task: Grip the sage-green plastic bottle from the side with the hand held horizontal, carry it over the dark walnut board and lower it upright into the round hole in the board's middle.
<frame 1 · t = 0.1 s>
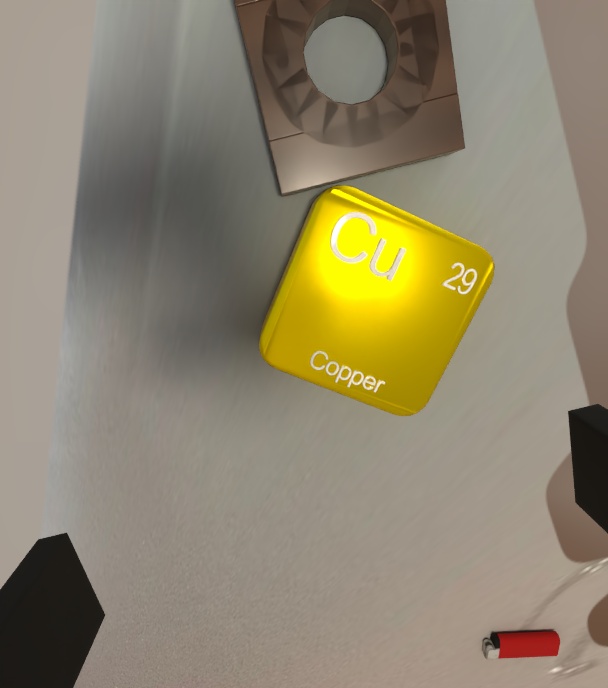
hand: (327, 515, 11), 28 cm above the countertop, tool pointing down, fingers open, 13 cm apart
hole board: (345, 65, 34), on the countertop
element tile: (365, 299, 39), on the countertop
lighter: (516, 638, 50), on the countertop
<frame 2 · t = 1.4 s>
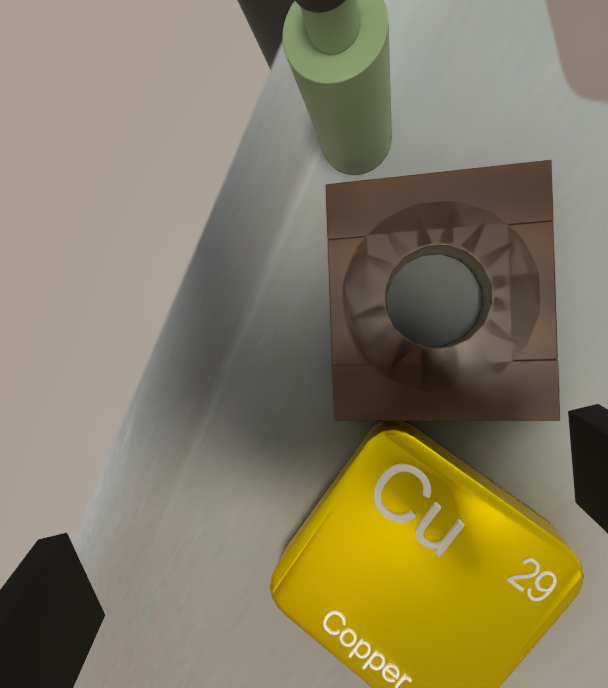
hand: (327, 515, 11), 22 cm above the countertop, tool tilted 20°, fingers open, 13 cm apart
hole board: (433, 300, 32), on the countertop
element tile: (413, 550, 32), on the countertop
bottle: (356, 140, 33), on the countertop
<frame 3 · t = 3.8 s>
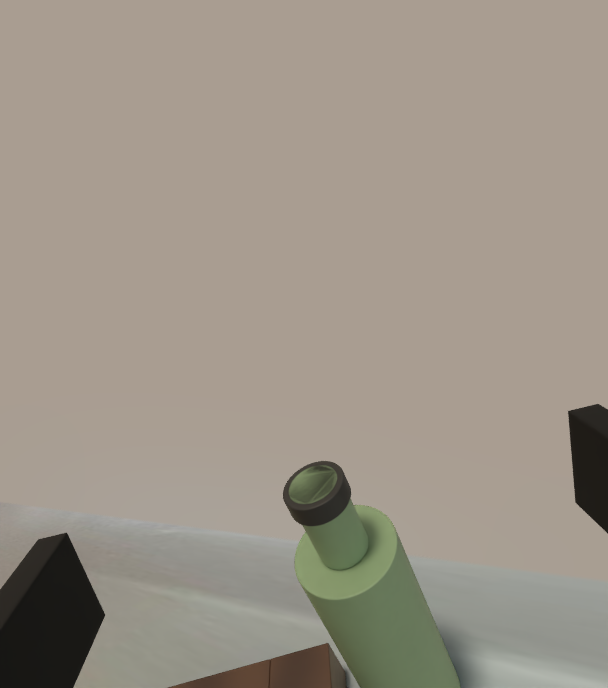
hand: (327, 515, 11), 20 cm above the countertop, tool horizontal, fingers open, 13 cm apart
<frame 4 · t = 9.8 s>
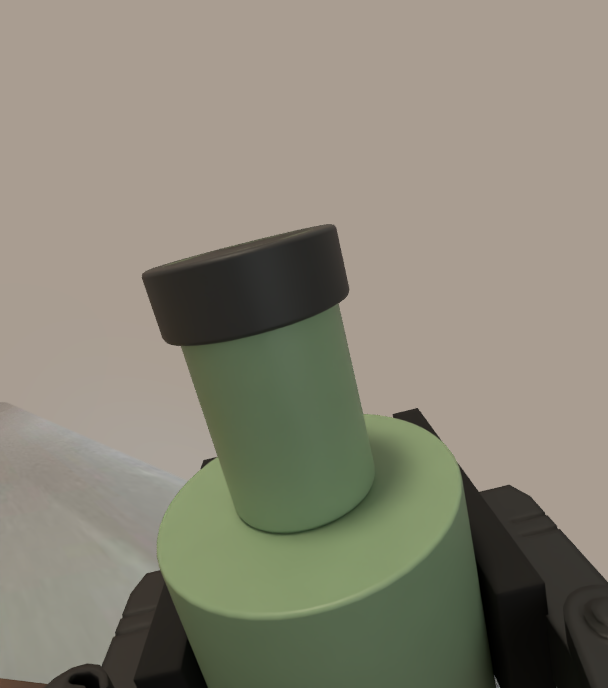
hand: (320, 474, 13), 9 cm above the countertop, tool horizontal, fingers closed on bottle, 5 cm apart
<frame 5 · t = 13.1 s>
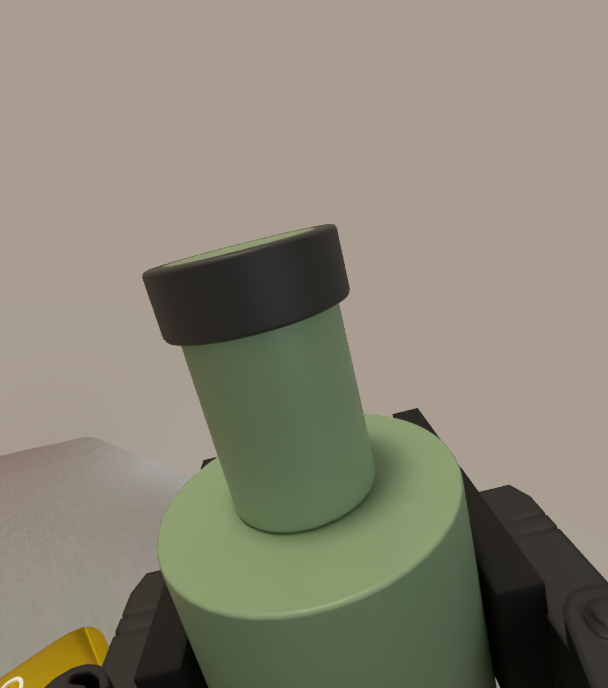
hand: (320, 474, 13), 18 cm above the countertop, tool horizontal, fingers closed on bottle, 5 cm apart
when the fingers open (9 cm above the countertop, at t = 16.2 s): bottle stays where it is, resting in hole board.
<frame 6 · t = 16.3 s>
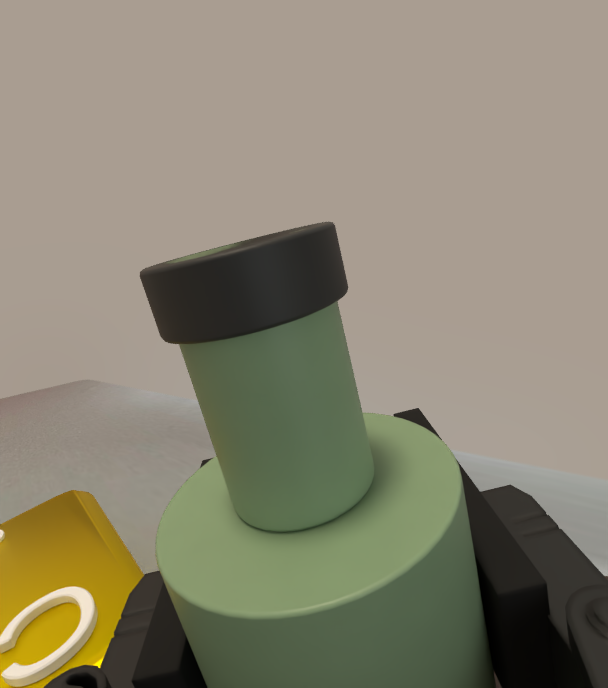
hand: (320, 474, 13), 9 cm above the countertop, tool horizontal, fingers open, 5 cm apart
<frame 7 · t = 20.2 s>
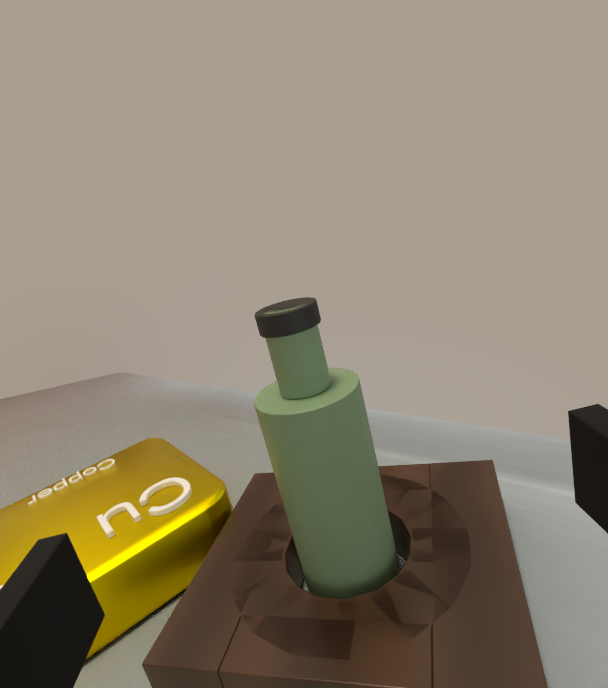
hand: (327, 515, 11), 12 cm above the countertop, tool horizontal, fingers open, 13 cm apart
hole board: (357, 589, 24), on the countertop
element tile: (113, 561, 31), on the countertop
bottle: (357, 590, 24), resting in hole board
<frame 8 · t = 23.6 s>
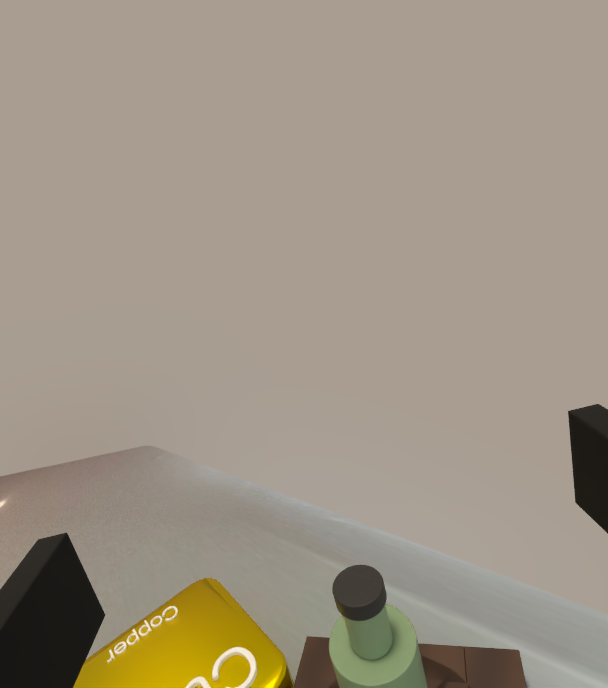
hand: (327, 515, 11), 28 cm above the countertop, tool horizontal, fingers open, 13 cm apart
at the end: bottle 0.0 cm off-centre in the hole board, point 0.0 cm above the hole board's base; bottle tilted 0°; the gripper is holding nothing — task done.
